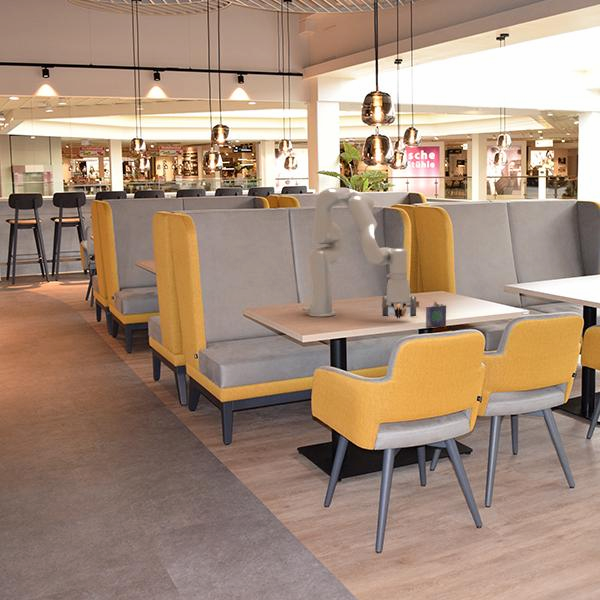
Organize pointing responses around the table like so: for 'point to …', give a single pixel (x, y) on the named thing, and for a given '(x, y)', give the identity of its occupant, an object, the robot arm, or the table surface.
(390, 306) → the stopper wall
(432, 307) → the flask
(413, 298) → the post right
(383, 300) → the post left
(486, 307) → the table surface
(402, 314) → the ball
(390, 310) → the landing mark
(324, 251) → the robot arm
